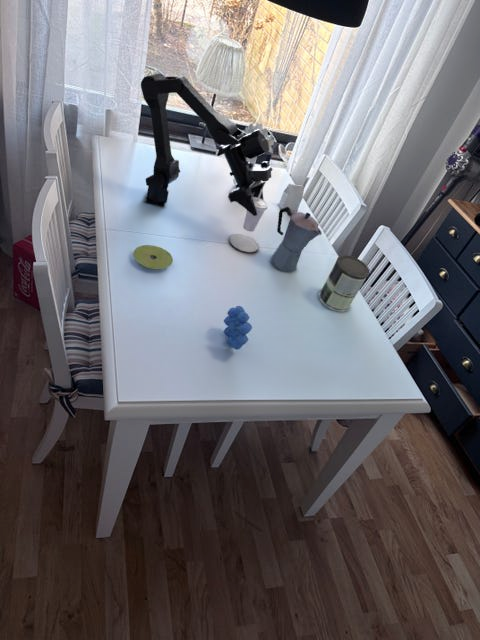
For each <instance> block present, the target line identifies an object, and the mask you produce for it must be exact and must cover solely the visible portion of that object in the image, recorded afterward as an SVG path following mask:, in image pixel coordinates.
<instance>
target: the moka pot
mask: <svg viewBox="0 0 480 640" xmlns="http://www.w3.org/2000/svg"><path fill="white" fill-rule="evenodd" d="M283 213H286V215H287V216H288V217H289V218H290V219H289V221H288V223H287V227H286V229H285V233H284V232H283V231H282V221H283ZM319 225H320V223H318V221H317V220H316V219H315V218H314V217H313V216H311V213H309V212H306V213H304V212H302V211H301V212H299V211H293V210H291V209H290V208H289V207H285V208H283V209H281V208H280V209H279V212H278V221H277V227H276V228H277V229H276V233H278V234H279V235H280V236H283V239H282V240H281V242H280V244H279V245H278V247H277V248H276V250H275V251H274V252H273V254H272V255H271V257H270V261H271V263H272V265H273V267H275V268H277V269H278V270H280V271H281V272H285V273H292V272H294V271H296V268H297V266H298V263H299V261H300V258H301V255H302V252H303V250H304V249H305V248H306V247H307V246H308V244H309V243H310V242H311V241H312V240H313V239H315V238H316V237H318V236H322V231H321V229H320V228H319Z"/></svg>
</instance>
